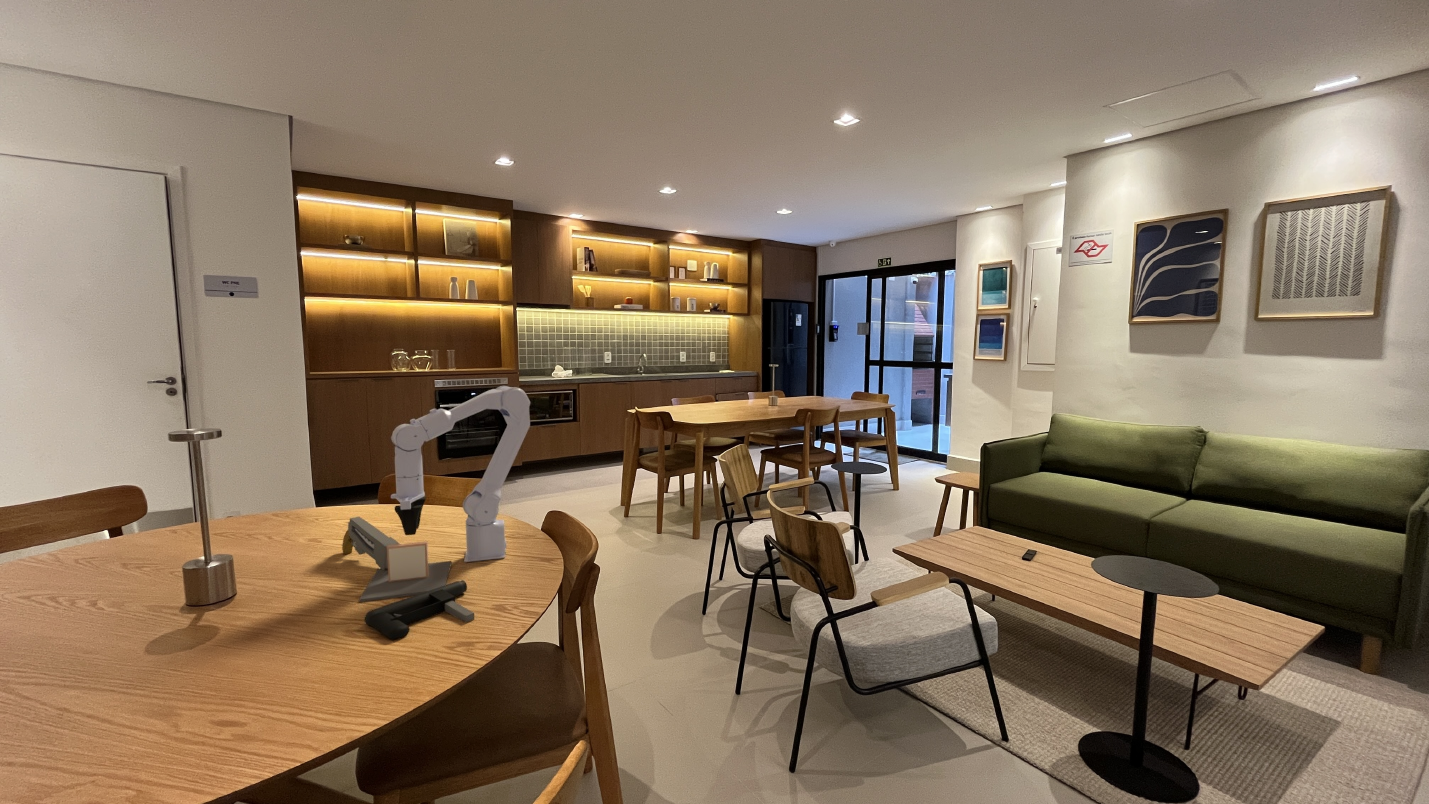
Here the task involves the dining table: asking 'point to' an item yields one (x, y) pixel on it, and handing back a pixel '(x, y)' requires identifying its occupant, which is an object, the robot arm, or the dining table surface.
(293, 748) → the dining table surface
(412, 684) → the dining table surface
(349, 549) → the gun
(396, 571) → the tile
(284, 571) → the dining table surface
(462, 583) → the door handle
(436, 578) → the mat
